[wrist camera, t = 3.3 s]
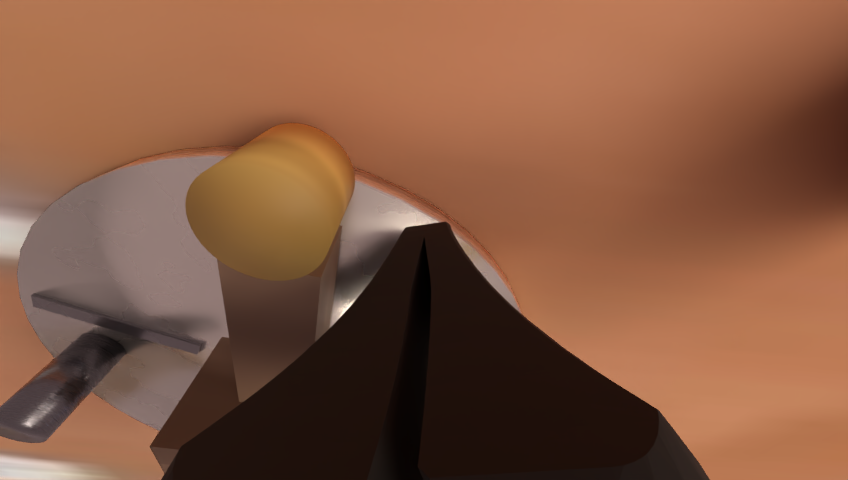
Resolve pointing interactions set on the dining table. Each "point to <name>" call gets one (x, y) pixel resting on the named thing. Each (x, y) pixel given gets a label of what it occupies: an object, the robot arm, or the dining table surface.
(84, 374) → the dowel
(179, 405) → the knob-topped wooden stand
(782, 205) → the dining table surface
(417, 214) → the plate
